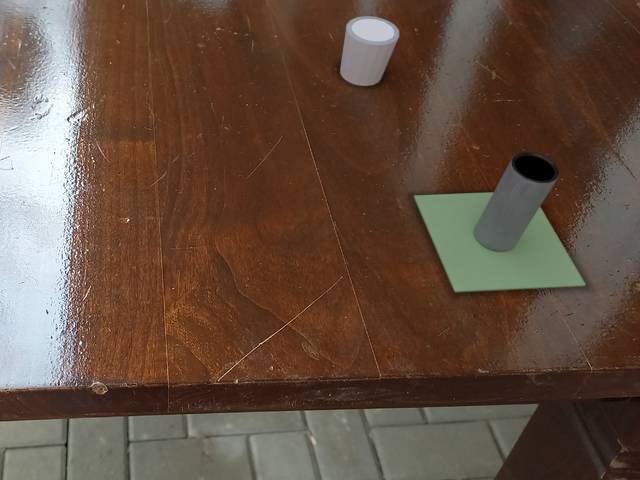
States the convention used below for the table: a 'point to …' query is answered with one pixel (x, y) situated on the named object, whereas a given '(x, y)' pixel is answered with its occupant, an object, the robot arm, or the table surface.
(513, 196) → the grey hollow cylinder
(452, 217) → the cloth
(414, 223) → the table surface
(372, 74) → the white short cylinder
